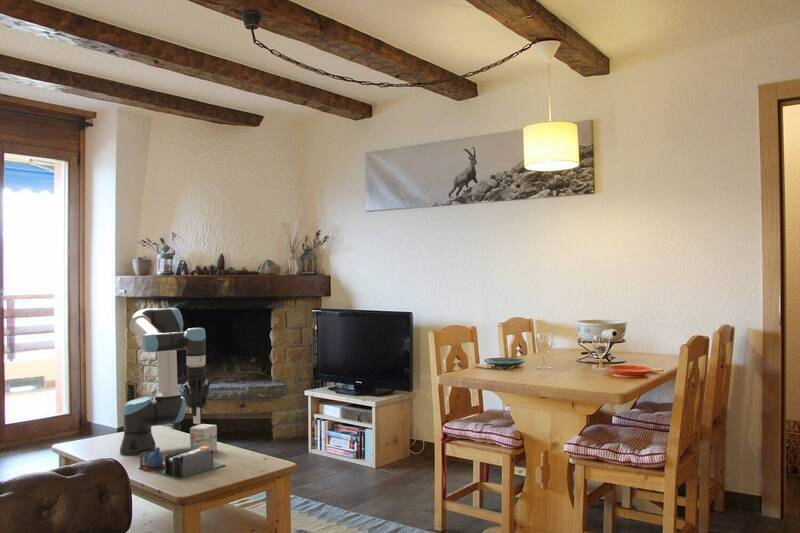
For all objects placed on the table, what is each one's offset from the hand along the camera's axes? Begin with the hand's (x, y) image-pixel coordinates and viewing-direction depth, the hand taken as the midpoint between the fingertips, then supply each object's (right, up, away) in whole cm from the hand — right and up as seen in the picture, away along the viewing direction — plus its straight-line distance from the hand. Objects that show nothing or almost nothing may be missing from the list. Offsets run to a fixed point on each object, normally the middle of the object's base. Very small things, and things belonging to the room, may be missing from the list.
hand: (196, 423), depth 269 cm
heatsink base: (-2, -18, -2) cm, 18 cm away
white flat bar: (-2, -12, -4) cm, 13 cm away
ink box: (-5, -19, +26) cm, 33 cm away
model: (-19, -19, +2) cm, 27 cm away
